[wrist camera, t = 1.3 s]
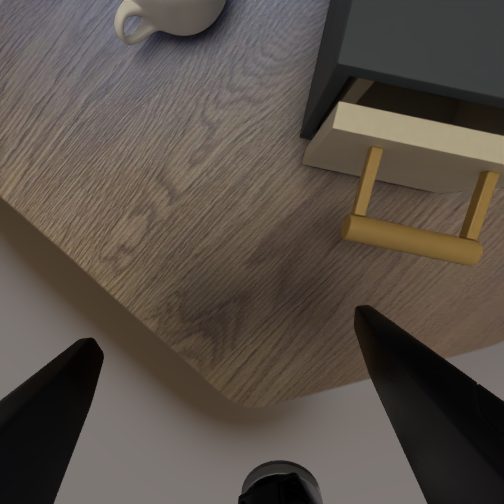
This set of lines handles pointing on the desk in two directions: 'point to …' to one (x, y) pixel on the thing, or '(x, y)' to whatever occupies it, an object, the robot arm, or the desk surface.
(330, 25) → the cabinet
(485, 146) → the drawer
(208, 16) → the teacup
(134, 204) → the desk surface
